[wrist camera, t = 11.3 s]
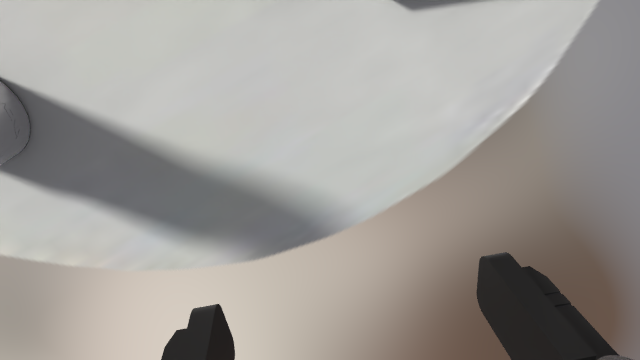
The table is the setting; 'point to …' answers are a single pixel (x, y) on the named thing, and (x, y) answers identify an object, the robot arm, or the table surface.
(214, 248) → the table surface
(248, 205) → the table surface
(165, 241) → the table surface
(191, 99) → the table surface
